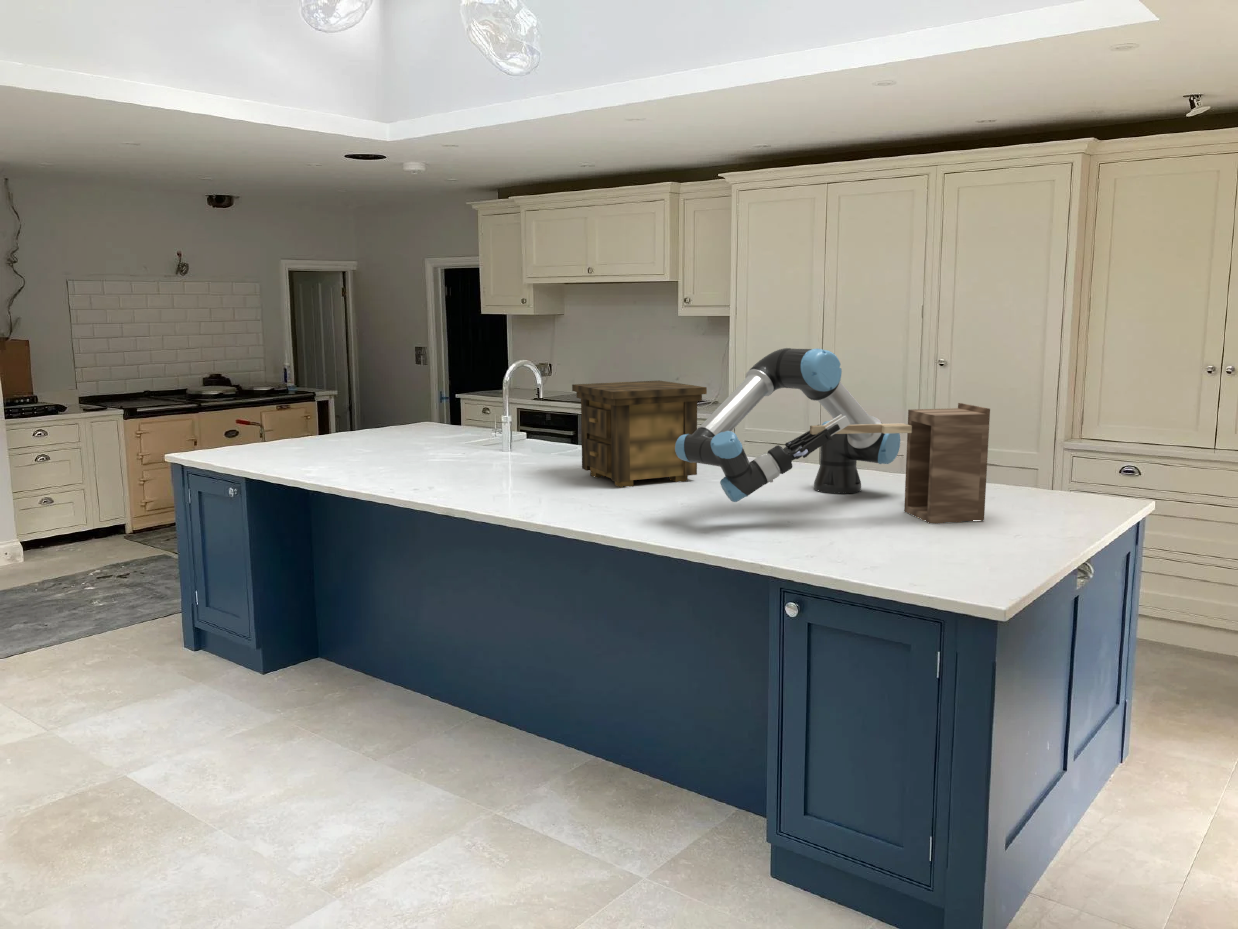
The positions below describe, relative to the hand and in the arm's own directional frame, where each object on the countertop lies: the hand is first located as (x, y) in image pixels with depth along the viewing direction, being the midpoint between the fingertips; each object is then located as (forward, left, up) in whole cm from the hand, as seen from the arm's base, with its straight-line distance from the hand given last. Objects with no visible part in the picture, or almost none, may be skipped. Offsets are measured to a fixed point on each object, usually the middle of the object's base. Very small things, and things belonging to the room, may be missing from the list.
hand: (845, 419), depth 264 cm
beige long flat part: (0, +4, -4) cm, 6 cm away
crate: (-79, -44, -29) cm, 95 cm away
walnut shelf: (0, +30, -29) cm, 42 cm away
